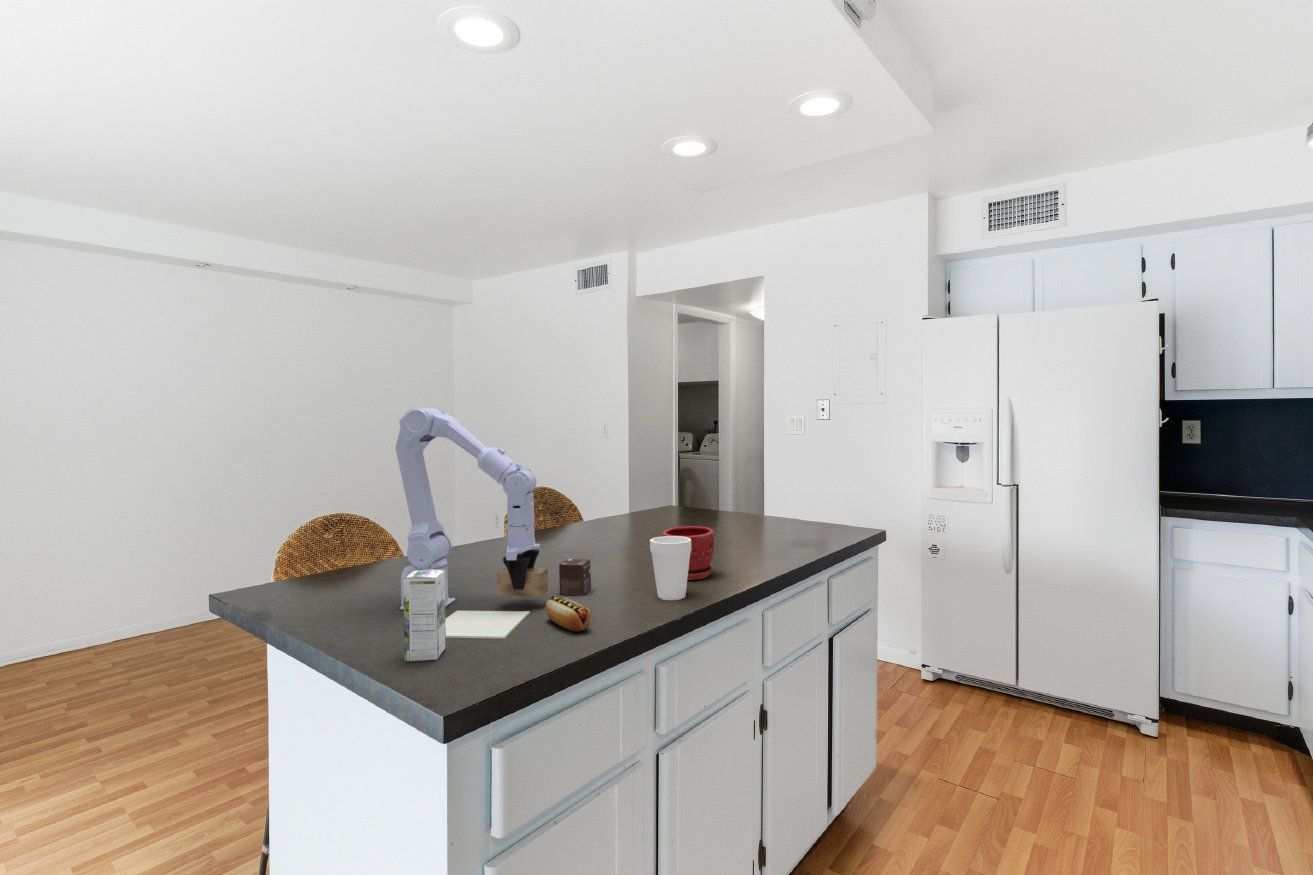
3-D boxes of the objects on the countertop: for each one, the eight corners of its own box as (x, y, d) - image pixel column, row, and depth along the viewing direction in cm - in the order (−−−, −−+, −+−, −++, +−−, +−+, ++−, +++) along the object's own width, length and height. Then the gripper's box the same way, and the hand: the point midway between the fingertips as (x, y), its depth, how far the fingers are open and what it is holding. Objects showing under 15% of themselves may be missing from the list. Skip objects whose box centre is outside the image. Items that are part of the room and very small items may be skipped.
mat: (422, 637, 123) (422, 635, 123) (456, 612, 139) (456, 610, 139) (504, 638, 122) (504, 636, 122) (529, 613, 138) (529, 611, 138)
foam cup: (669, 604, 142) (668, 545, 142) (642, 596, 149) (641, 540, 149) (700, 596, 148) (699, 539, 148) (673, 588, 155) (672, 534, 155)
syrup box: (413, 650, 117) (411, 569, 116) (447, 648, 117) (445, 568, 117) (403, 662, 111) (401, 577, 111) (439, 660, 111) (437, 576, 111)
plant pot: (666, 570, 175) (665, 525, 174) (715, 570, 173) (715, 525, 172) (660, 582, 162) (659, 534, 161) (713, 583, 160) (712, 534, 160)
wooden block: (497, 595, 141) (496, 572, 141) (504, 590, 146) (503, 567, 146) (542, 596, 140) (541, 573, 140) (547, 590, 145) (547, 568, 145)
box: (583, 596, 150) (583, 564, 150) (559, 595, 152) (558, 564, 151) (591, 589, 156) (590, 559, 156) (567, 588, 158) (567, 558, 157)
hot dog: (571, 637, 122) (571, 611, 122) (540, 621, 133) (540, 596, 133) (595, 632, 125) (594, 606, 125) (562, 616, 136) (561, 592, 135)
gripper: (528, 530, 135) (530, 595, 135) (547, 519, 149) (548, 578, 150) (495, 530, 136) (497, 594, 136) (517, 519, 150) (519, 577, 150)
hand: (522, 586), depth 143 cm, fingers closed on wooden block, 4 cm apart
